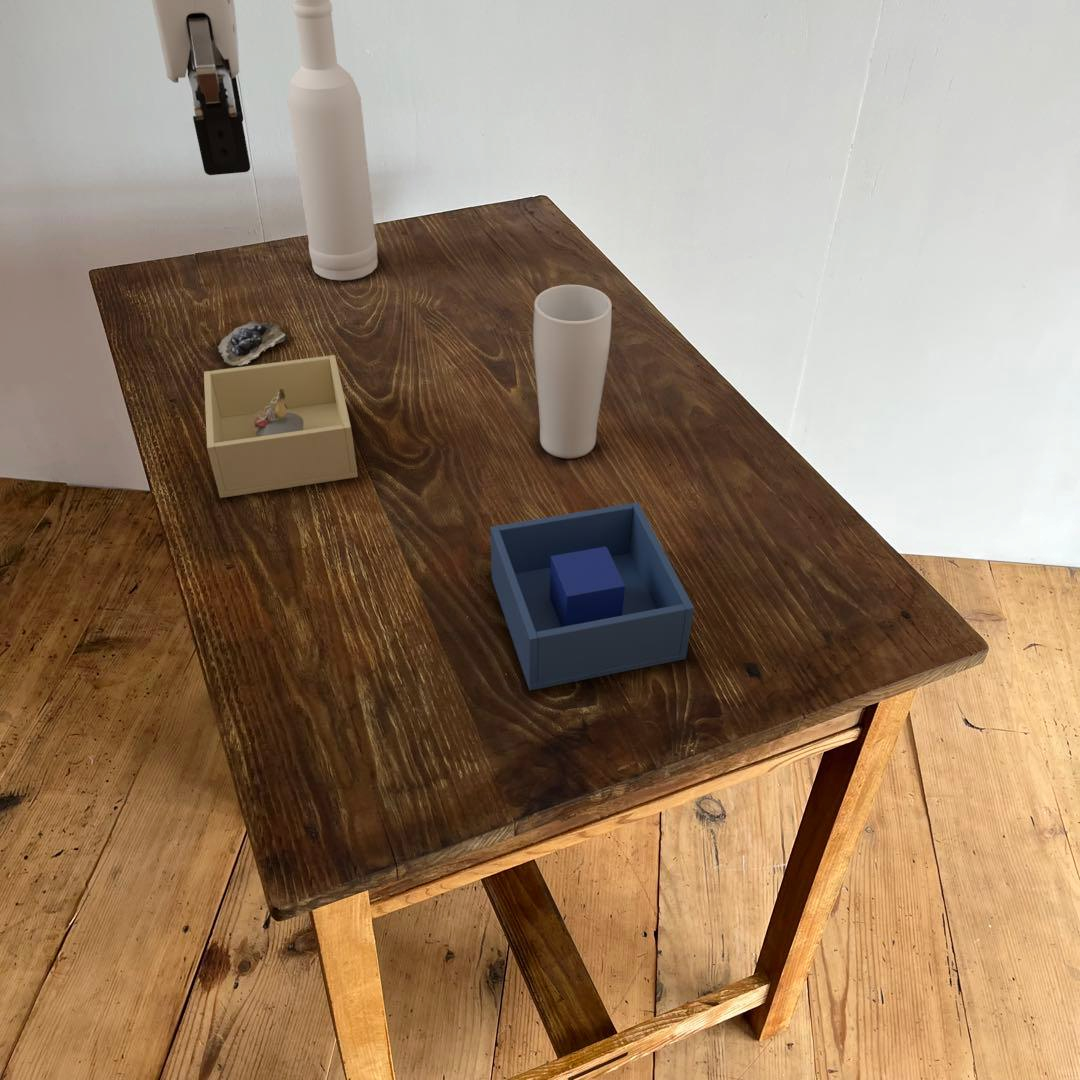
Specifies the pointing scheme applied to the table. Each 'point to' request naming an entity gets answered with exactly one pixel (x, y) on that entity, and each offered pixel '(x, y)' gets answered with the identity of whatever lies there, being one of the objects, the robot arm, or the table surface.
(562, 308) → the drinking glass
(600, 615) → the blue block
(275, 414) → the figurine
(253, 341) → the grey flat lumpy piece
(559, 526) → the blue bin
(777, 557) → the table surface
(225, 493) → the cream bin
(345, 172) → the bottle
